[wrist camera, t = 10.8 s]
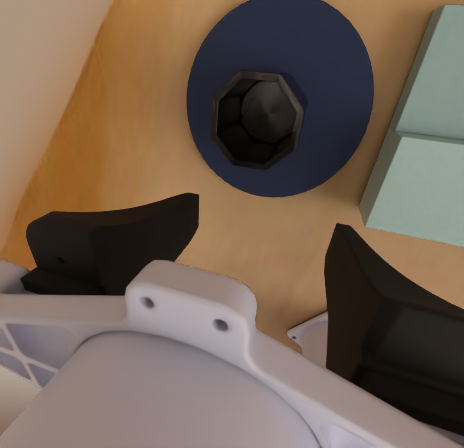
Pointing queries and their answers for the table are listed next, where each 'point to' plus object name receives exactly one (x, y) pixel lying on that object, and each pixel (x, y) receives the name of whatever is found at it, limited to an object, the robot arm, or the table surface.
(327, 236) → the table surface
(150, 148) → the table surface
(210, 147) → the navy mat
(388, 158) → the shelf riser
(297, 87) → the pen cup
